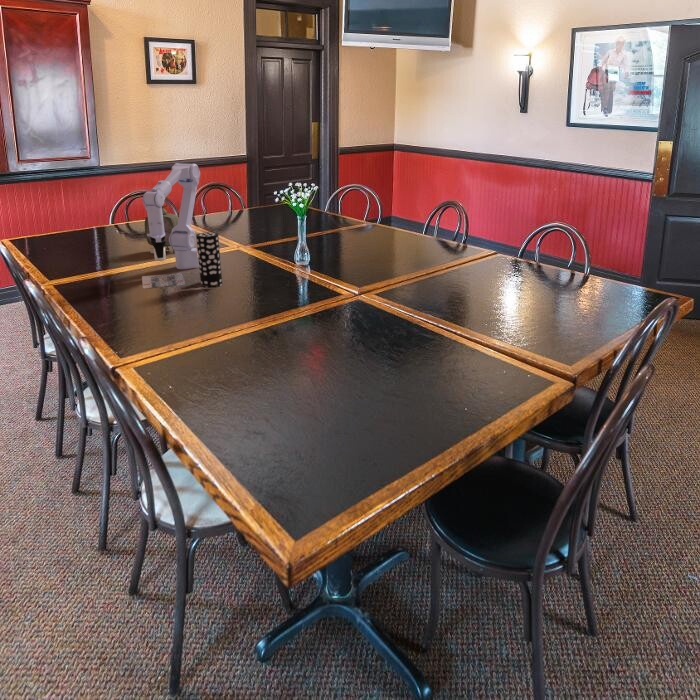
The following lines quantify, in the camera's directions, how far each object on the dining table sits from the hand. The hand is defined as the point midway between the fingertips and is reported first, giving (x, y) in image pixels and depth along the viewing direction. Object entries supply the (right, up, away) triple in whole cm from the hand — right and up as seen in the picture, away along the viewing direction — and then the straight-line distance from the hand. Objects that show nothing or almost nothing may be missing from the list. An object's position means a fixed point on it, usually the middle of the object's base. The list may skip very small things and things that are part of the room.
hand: (160, 256), depth 265 cm
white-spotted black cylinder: (+22, -12, -5) cm, 25 cm away
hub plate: (+2, -11, -1) cm, 11 cm away
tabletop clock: (-11, +9, +48) cm, 50 cm away
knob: (0, -1, +1) cm, 1 cm away
